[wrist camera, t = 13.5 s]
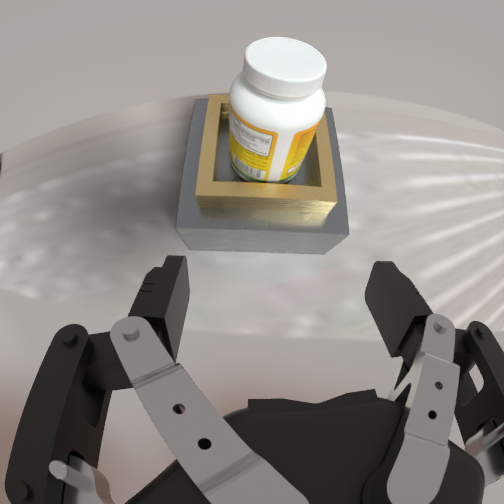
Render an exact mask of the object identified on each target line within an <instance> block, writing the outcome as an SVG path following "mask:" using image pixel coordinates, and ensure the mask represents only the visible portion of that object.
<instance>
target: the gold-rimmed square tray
mask: <svg viewBox="0 0 504 504" xmlns="http://www.w3.org/2000/svg"><path fill="white" fill-rule="evenodd" d="M176 229H177V231H178V232H179V234H180V236H181V237H182V239H183V240H184V242H185V243H186V245H187V246H188V248H189V249H190V250H209V251H240V252H270V253H300V254H325V253H327V252H328V251H329V250H331V249H332V248H333V247H334V246H336V245H337V244H338V243H340V242H341V241H342V240H343V239H345V238H346V237H347V236H348V235H349V226H348V215H347V205H346V196H345V188H344V180H343V172H342V165H341V159H340V152H339V146H338V140H337V134H336V129H335V123H334V118H333V113H332V108H328V107H325V110H324V113H323V116H322V118H321V120H320V123H319V125H318V127H317V130H316V132H315V134H314V137H313V139H312V141H311V143H310V146H309V148H308V150H307V153H306V155H305V157H304V160H303V162H302V164H301V166H300V169H299V170H298V172H297V173H296V175H295V176H294V177H293V178H291V179H290V180H289V181H287V182H286V183H284V184H271V183H250V182H248V181H246V180H244V179H243V178H242V177H241V176H239V175H238V173H237V172H236V171H235V170H234V168H233V166H232V164H231V160H230V150H229V95H222V94H214V95H209V99H196V101H195V106H194V111H193V116H192V121H191V126H190V131H189V137H188V143H187V149H186V155H185V161H184V167H183V174H182V181H181V188H180V196H179V204H178V212H177V221H176Z"/></svg>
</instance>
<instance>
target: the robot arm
mask: <svg viewBox="0 0 504 504" xmlns="http://www.w3.org/2000/svg"><path fill="white" fill-rule="evenodd" d="M189 294H190V288H189V278H188V268H187V259H186V256H172V255H168V256H167V257H166V259H165V262H164V264H163V266H162V267H154V268H153V269H152V270H151V271H150V272H149V273H148V274H146V277H145V279H144V281H143V285H141V287H140V290H139V292H138V294H137V296H136V298H135V301H134V303H133V305H132V308H131V310H130V312H129V315H128V317H126V318H123V319H121V320H119V321H118V322H116V323H115V325H113V327H112V329H111V331H109V332H104V333H98V334H90V335H89V334H88V333H87V330H86V329H85V328H84V327H83V326H81V325H77V324H70V325H67V326H65V327H63V328H61V329H60V330H59V331H58V332H57V333H56V334H55V336H54V338H53V340H52V342H51V344H50V346H49V348H48V351H47V353H46V355H45V357H44V359H43V362H42V364H41V366H40V368H39V371H38V373H37V376H36V378H35V381H34V383H33V386H32V388H31V391H30V394H29V396H28V399H27V402H26V405H25V407H24V410H23V413H22V416H21V419H20V423H19V426H18V429H17V432H16V436H15V440H14V443H13V447H12V451H11V455H10V459H9V464H8V469H7V473H6V479H5V491H6V494H7V497H8V499H9V501H10V502H11V504H115V503H114V502H113V500H112V498H111V495H110V486H109V482H108V480H107V478H106V477H105V476H104V474H103V473H101V472H100V471H99V470H97V467H98V460H99V453H100V448H101V442H102V436H103V431H104V426H105V421H106V416H107V411H108V406H109V403H110V398H111V394H112V390H120V389H127V388H134V389H135V391H136V393H137V395H138V397H139V399H140V401H141V402H142V404H143V406H144V408H145V410H146V411H147V413H148V415H149V416H150V418H151V420H152V422H153V423H154V425H155V427H156V428H157V430H158V431H159V433H160V435H161V436H162V438H163V439H164V441H165V442H166V444H167V445H168V447H169V448H170V450H171V451H172V453H173V454H174V456H175V457H176V460H175V461H174V462H173V463H172V464H171V465H169V467H167V468H166V469H165V470H164V471H163V472H162V473H161V474H159V475H158V476H157V477H156V478H155V479H154V480H153V481H151V482H150V483H149V484H148V485H147V486H145V487H144V488H143V489H142V490H141V491H139V492H138V493H137V494H136V495H135V496H134V497H132V498H131V499H130V500H128V501H127V502H126V503H125V504H482V499H483V493H484V488H485V487H486V486H487V485H489V484H491V483H493V482H495V481H497V480H499V479H500V478H502V477H504V352H503V351H502V349H501V347H500V346H499V344H498V342H497V341H496V339H495V337H494V336H493V334H492V332H491V331H490V329H489V328H488V327H487V326H486V325H485V324H483V323H481V322H479V321H472V322H471V323H470V324H469V326H468V327H467V329H466V330H462V329H456V328H455V327H454V325H453V323H452V322H451V321H450V320H449V319H448V318H446V317H445V316H443V315H440V314H433V312H432V311H431V309H430V308H429V306H428V305H427V303H426V302H425V300H424V299H423V297H422V296H421V294H419V291H418V290H417V289H416V288H415V286H414V284H413V283H412V282H411V280H410V279H409V278H408V277H406V276H405V275H404V274H403V273H401V272H400V271H399V270H398V268H397V267H396V265H395V264H394V263H393V262H392V261H376V262H375V263H374V265H373V268H372V271H371V275H370V278H369V281H368V284H367V287H366V290H365V301H366V304H367V306H368V308H369V310H370V312H371V314H372V316H373V318H374V320H375V323H376V325H377V327H378V329H379V331H380V333H381V336H382V338H383V340H384V342H385V344H386V347H387V349H388V351H389V354H390V355H391V357H392V358H393V357H399V356H402V358H403V360H402V361H401V363H400V365H399V368H398V371H397V374H396V377H395V380H394V382H393V385H392V388H391V391H390V394H389V396H388V398H387V399H384V398H378V397H377V395H376V391H375V389H371V390H365V391H358V392H352V393H346V394H343V395H341V396H338V397H335V398H333V399H330V400H327V401H324V402H321V403H317V404H314V403H306V402H300V401H294V400H288V399H248V408H244V409H240V410H237V411H234V412H232V413H229V414H227V415H225V416H224V417H222V416H221V415H220V414H219V413H218V411H217V410H216V409H215V408H214V407H213V405H212V404H211V403H210V402H209V400H208V399H207V398H206V397H205V395H204V394H203V393H202V391H201V390H200V389H199V388H198V386H197V385H196V384H195V382H194V381H193V380H192V378H191V377H190V376H189V374H188V373H187V371H186V370H185V369H184V367H183V366H182V365H181V364H180V363H177V364H176V358H177V354H178V349H179V344H180V339H181V334H182V330H183V325H184V320H185V316H186V311H187V307H188V302H189ZM475 364H476V365H477V367H478V369H479V370H480V373H481V375H482V377H483V380H484V385H483V388H482V389H481V391H480V392H479V393H478V391H477V389H476V387H475V385H474V382H473V380H472V378H471V376H470V374H469V371H470V370H471V369H472V368H473V366H474V365H475ZM454 414H455V417H456V420H457V423H458V426H459V429H460V432H461V435H462V438H463V442H464V445H465V451H464V450H463V449H461V448H460V447H458V446H457V445H455V444H454V443H453V442H451V441H450V440H449V434H450V430H451V425H452V420H453V415H454Z"/></svg>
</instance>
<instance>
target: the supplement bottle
mask: <svg viewBox="0 0 504 504" xmlns="http://www.w3.org/2000/svg"><path fill="white" fill-rule="evenodd" d="M326 67H327V65H326V61H325V59H324V57H323V56H322V55H321V54H320V53H319V52H318V51H317V50H316V49H314V48H313V47H312V46H310V45H308V44H306V43H304V42H301V41H299V40H295V39H291V38H285V37H269V38H263V39H260V40H257V41H255V42H253V43H251V44H250V45H249V46H248V47H247V49H246V51H245V54H244V66H243V71H242V72H241V73H240V74H239V75H238V76H237V77H236V78H235V79H234V81H233V83H232V85H231V88H230V94H229V150H230V160H231V164H232V166H233V168H234V170H235V171H236V172H237V173H238V175H239V176H241V177H242V178H243V179H244V180H246V181H248V182H250V183H271V184H284V183H286V182H287V181H289V180H290V179H291V178H293V177H294V176H295V175H296V173H297V172H298V170H299V169H300V166H301V164H302V162H303V160H304V157H305V155H306V153H307V150H308V148H309V146H310V143H311V141H312V139H313V137H314V134H315V132H316V130H317V127H318V125H319V123H320V120H321V118H322V116H323V113H324V110H325V95H324V92H323V90H322V88H321V86H322V83H323V79H324V76H325V73H326Z"/></svg>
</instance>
